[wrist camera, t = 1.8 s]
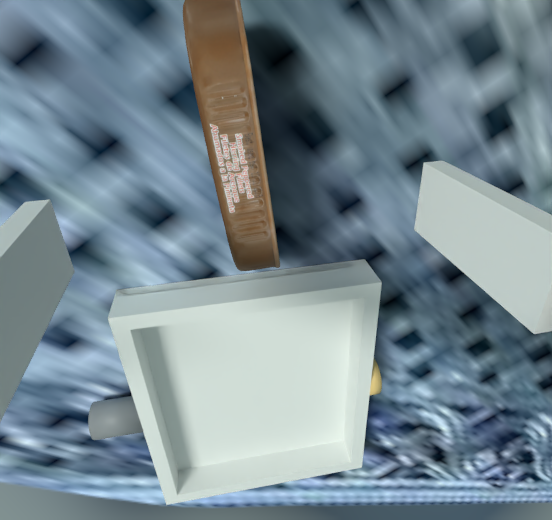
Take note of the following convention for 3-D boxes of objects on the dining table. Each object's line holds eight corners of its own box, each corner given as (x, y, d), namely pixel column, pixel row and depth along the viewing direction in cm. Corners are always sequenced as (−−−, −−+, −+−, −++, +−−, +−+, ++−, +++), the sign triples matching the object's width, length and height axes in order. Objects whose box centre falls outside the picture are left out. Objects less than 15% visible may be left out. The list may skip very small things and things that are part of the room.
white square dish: (376, 257, 33) (395, 281, 30) (359, 435, 44) (371, 466, 41) (60, 296, 30) (44, 327, 26) (128, 477, 41) (123, 514, 38)
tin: (271, 230, 30) (295, 293, 23) (230, 238, 30) (240, 304, 22) (235, -11, 22) (253, -32, 15) (178, -3, 22) (169, -20, 15)
